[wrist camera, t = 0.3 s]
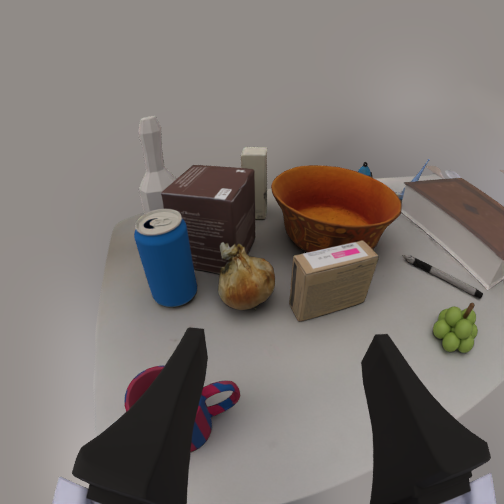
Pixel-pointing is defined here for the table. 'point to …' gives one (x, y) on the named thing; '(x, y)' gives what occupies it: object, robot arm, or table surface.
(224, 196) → the box
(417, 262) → the pen
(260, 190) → the box
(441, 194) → the book
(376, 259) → the ink box
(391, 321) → the table surface
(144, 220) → the beverage can
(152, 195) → the faceted bottle
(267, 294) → the onion
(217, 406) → the cup
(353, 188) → the bowl
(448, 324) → the grapes
